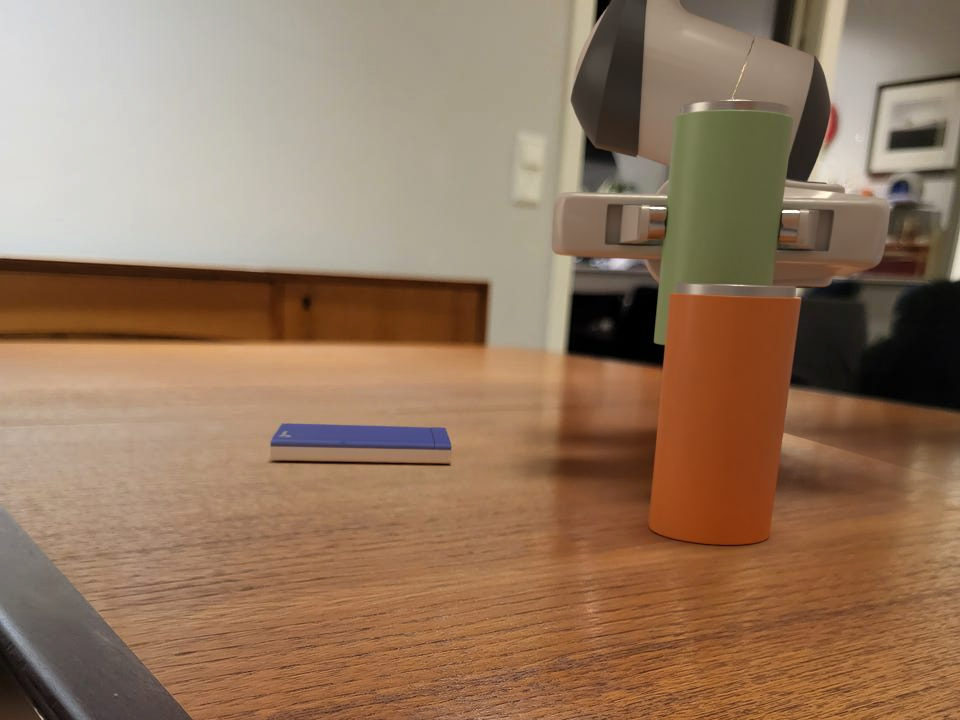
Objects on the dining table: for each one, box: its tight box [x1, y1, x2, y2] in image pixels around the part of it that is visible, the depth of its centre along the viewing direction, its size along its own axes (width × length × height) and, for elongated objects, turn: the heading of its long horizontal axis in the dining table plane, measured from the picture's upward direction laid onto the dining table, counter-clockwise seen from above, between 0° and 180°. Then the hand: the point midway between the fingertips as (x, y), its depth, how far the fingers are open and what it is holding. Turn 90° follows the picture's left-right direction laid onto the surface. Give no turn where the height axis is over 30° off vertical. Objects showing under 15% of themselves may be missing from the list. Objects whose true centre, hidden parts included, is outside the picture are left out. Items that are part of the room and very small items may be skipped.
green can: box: [653, 100, 793, 346], centre depth 57 cm, size 6×6×12 cm
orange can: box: [648, 283, 802, 546], centre depth 52 cm, size 6×6×12 cm
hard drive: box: [269, 422, 452, 465], centre depth 73 cm, size 2×8×12 cm
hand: (723, 224), depth 56 cm, fingers closed on green can, 6 cm apart
